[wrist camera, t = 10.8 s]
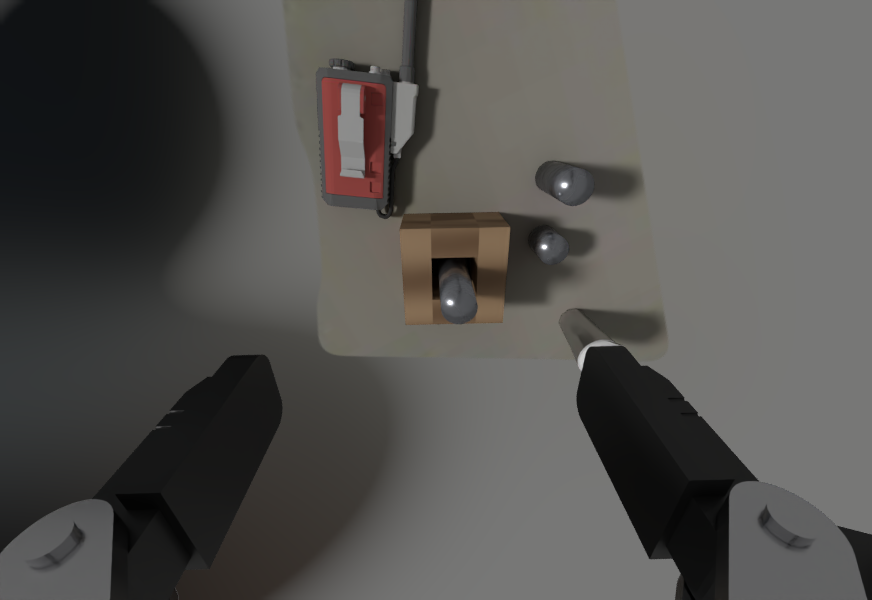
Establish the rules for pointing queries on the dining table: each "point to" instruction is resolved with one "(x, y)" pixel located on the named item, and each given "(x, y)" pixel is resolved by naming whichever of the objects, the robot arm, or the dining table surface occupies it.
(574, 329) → the milkshake
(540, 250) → the pin short
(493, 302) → the hole block
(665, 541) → the robot arm
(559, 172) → the pin medium
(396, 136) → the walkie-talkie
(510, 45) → the dining table surface
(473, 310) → the pin long
